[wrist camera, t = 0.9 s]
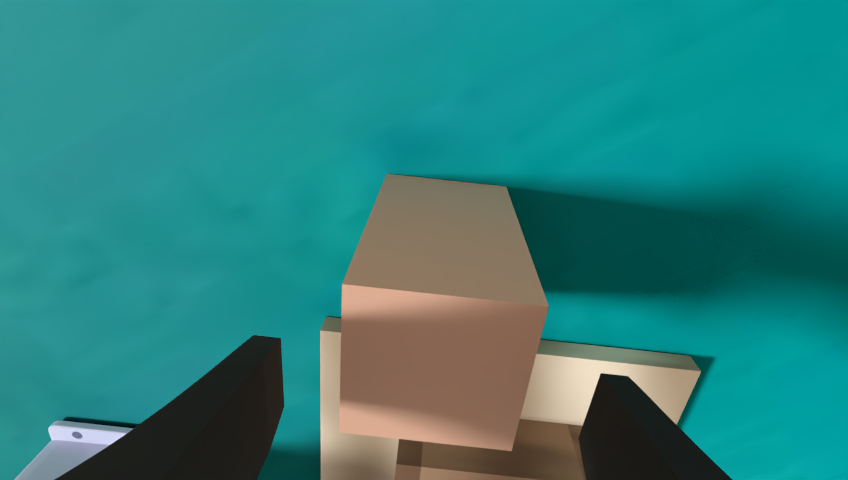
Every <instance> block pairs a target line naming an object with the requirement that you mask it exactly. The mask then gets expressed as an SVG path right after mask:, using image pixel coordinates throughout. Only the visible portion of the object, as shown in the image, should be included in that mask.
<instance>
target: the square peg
mask: <svg viewBox="0 0 848 480" xmlns="http://www.w3.org/2000/svg"><path fill="white" fill-rule="evenodd" d="M548 307H549V306H548V303H547V300H546V297H545V294H544V292H543V289H542V286H541V283H540V280H539V278H538V275H537V272H536V269H535V266H534V263H533V261H532V258H531V255H530V252H529V249H528V247H527V244H526V241H525V238H524V235H523V233H522V230H521V227H520V224H519V221H518V218H517V216H516V213H515V210H514V207H513V204H512V202H511V199H510V196H509V193H508V190H507V187H506V186H496V185H487V184H478V183H468V182H459V181H450V180H440V179H431V178H422V177H412V176H403V175H394V174H386V177H385V179H384V182H383V184H382V187H381V189H380V192H379V194H378V197H377V199H376V202H375V204H374V206H373V209H372V211H371V214H370V216H369V219H368V221H367V224H366V226H365V229H364V231H363V234H362V236H361V239H360V241H359V244H358V246H357V249H356V251H355V254H354V256H353V259H352V261H351V263H350V266H349V268H348V271H347V273H346V276H345V278H344V281H343V283H342V316H341V362H340V408H339V433H349V434H358V435H367V436H376V437H386V438H395V439H404V440H414V441H423V442H432V443H441V444H451V445H460V446H469V447H478V448H488V449H497V450H506V451H512V447H513V443H514V440H515V436H516V432H517V428H518V424H519V420H520V416H521V412H522V408H523V405H524V401H525V397H526V393H527V389H528V385H529V381H530V377H531V373H532V369H533V366H534V362H535V358H536V354H537V350H538V346H539V342H540V338H541V334H542V331H543V327H544V323H545V319H546V315H547V311H548Z"/></svg>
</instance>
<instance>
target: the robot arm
mask: <svg viewBox="0 0 848 480" xmlns="http://www.w3.org/2000/svg"><path fill="white" fill-rule="evenodd" d="M283 408H284V394H283V374H282V355H281V338H274V337H265V336H256V335H253V336H252V337H251V338H250V339H248V340H247V341H246V342H244V343H243V344H242V345H241V346H239V347H238V348H237V349H236V350H235V351H233V352H232V353H231V354H230V355H229V356H227V357H226V358H225V359H224V360H222V361H221V362H220V363H219V364H218V365H216V366H215V367H214V368H213V369H211V370H210V371H209V372H208V373H207V374H205V375H204V376H203V377H202V378H200V379H199V380H198V381H197V382H195V383H194V384H193V385H191V386H190V387H189V388H188V389H186V390H185V391H184V392H183V393H181V394H180V395H179V396H177V397H176V398H175V399H174V400H172V401H171V402H170V403H168V404H167V405H166V406H164V407H163V408H162V409H160V410H159V411H157V412H156V413H155V414H153V415H152V416H150V417H149V418H148V419H146V420H145V421H144V422H142V423H141V424H139V425H138V426H137V427H135V428H125V427H116V426H107V425H98V424H88V423H79V422H70V421H55V422H54V423H53V424H52V425H51V426H50V427H49V429H48V430H49V434H50V437H51V440H52V441H50V442H49V444H48V445H47V446H46V447H45V448H44V449H43V450H42V451H41V452H40V453H39V454H38V455H37V456H36V457H35V458H34V459H33V460H32V461H31V463H30V464H29V465H28V466H27V467H26V468H25V469H24V470H23V471H22V472H21V473H20V474H19V475H18V476H17V477H16V478H15V479H14V480H256V479H257V477H258V475H259V472H260V470H261V468H262V466H263V464H264V461H265V459H266V457H267V455H268V452H269V450H270V447H271V444H272V442H273V439H274V436H275V433H276V430H277V427H278V424H279V420H280V417H281V414H282V411H283ZM578 439H579V445H580V450H581V456H582V462H583V467H584V472H585V477H586V480H732V479H731V478H730V477H729V476H728V475H727V474H726V473H725V472H724V471H723V470H722V469H721V468H720V467H718V466H717V465H716V464H715V463H714V462H713V461H712V460H711V459H710V458H709V457H708V456H707V455H706V454H705V453H704V452H703V451H702V450H701V449H700V448H699V447H698V446H697V445H696V444H695V443H694V442H693V441H692V440H691V439H690V438H689V437H688V436H687V435H686V434H685V433H684V432H683V431H682V430H681V429H680V428H679V427H678V426H677V425H676V424H675V423H674V422H673V421H672V420H671V419H670V418H669V417H668V416H667V415H666V414H665V413H664V412H663V411H662V410H661V409H660V408H659V407H658V405H657V404H656V403H655V402H654V401H653V400H652V399H651V398H650V397H649V396H648V395H647V394H646V393H645V392H644V391H643V390H642V389H641V388H640V387H639V386H638V385H637V384H636V383H635V382H634V381H633V380H632V379H631V378H629V377H628V376H622V375H613V374H604V373H601V374H600V377H599V380H598V383H597V386H596V388H595V391H594V394H593V397H592V400H591V403H590V406H589V409H588V412H587V415H586V418H585V420H584V423H583V426H582V429H581V432H580V435H579V438H578Z"/></svg>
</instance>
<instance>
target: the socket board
mask: <svg viewBox="0 0 848 480" xmlns="http://www.w3.org/2000/svg"><path fill="white" fill-rule="evenodd" d="M340 362H341V318H335V317H326V318H325V320H324V323H323V325H322V328H321V330H320V392H321V480H586V477H585V472H584V467H583V462H582V456H581V450H580V445H579V439H578V438H579V435H580V432H581V429H582V426H583V423H584V420H585V418H586V415H587V412H588V409H589V406H590V403H591V400H592V397H593V394H594V391H595V388H596V386H597V383H598V380H599V377H600V374H601V373H604V374H613V375H622V376H628V377H629V378H631V379H632V380H633V381H634V382H635V383H636V384H637V385H638V386H639V387H640V388H641V389H642V390H643V391H644V392H645V393H646V394H647V395H648V396H649V397H650V398H651V399H652V400H653V401H654V402H655V403H656V404H657V405H658V407H659V408H660V409H661V410H662V411H663V412H664V413H665V414H666V415H667V416H668V417H669V418H670V419H671V420H672V421H673V422H674V423H675V424H676V425H677V423H678V421H679V418H680V416H681V414H682V412H683V410H684V408H685V405H686V403H687V401H688V399H689V397H690V395H691V393H692V390H693V388H694V386H695V384H696V382H697V380H698V377H699V375H700V373H701V370H700V369H699V368H698V366H697V365H696V363H695V362H694V361H693V359H692V358H691V357H690V356H688V355H679V354H669V353H660V352H651V351H641V350H632V349H623V348H614V347H604V346H595V345H586V344H576V343H567V342H558V341H548V340H540V342H539V346H538V350H537V354H536V358H535V362H534V366H533V369H532V373H531V377H530V381H529V385H528V389H527V393H526V397H525V401H524V405H523V408H522V412H521V416H520V420H519V424H518V428H517V432H516V436H515V440H514V443H513V447H512V451H506V450H497V449H488V448H478V447H469V446H460V445H451V444H441V443H432V442H423V441H414V440H404V439H395V438H386V437H376V436H367V435H358V434H349V433H339V408H340Z"/></svg>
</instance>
